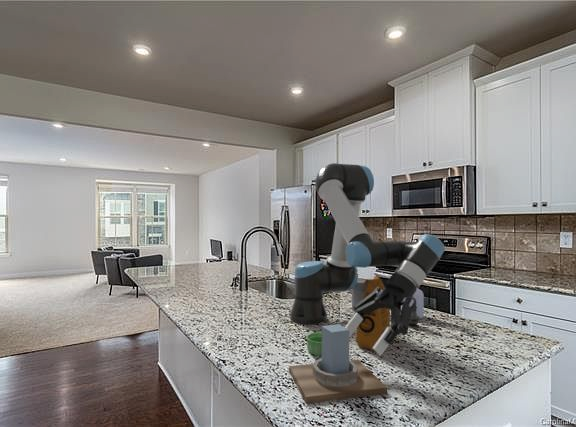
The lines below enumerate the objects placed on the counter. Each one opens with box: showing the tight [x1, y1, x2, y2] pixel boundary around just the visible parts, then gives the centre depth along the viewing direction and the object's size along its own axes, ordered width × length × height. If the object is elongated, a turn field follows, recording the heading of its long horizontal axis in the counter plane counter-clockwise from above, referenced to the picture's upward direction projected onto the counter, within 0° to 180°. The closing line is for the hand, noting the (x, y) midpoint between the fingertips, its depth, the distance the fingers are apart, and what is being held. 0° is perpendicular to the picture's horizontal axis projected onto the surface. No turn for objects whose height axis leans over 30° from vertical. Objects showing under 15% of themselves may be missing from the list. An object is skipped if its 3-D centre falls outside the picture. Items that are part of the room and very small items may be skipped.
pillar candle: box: [351, 277, 368, 312], centre depth 152 cm, size 10×10×15 cm
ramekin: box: [305, 332, 322, 357], centre depth 104 cm, size 9×9×4 cm
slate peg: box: [321, 323, 350, 375], centre depth 84 cm, size 5×5×12 cm
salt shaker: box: [408, 296, 421, 329], centre depth 130 cm, size 6×6×12 cm
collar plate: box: [288, 357, 388, 405], centre depth 84 cm, size 16×20×4 cm
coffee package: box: [355, 275, 391, 351], centre depth 111 cm, size 10×12×22 cm
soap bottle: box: [401, 288, 425, 320], centre depth 143 cm, size 9×9×25 cm
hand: (360, 342), depth 87 cm, fingers open, 13 cm apart
